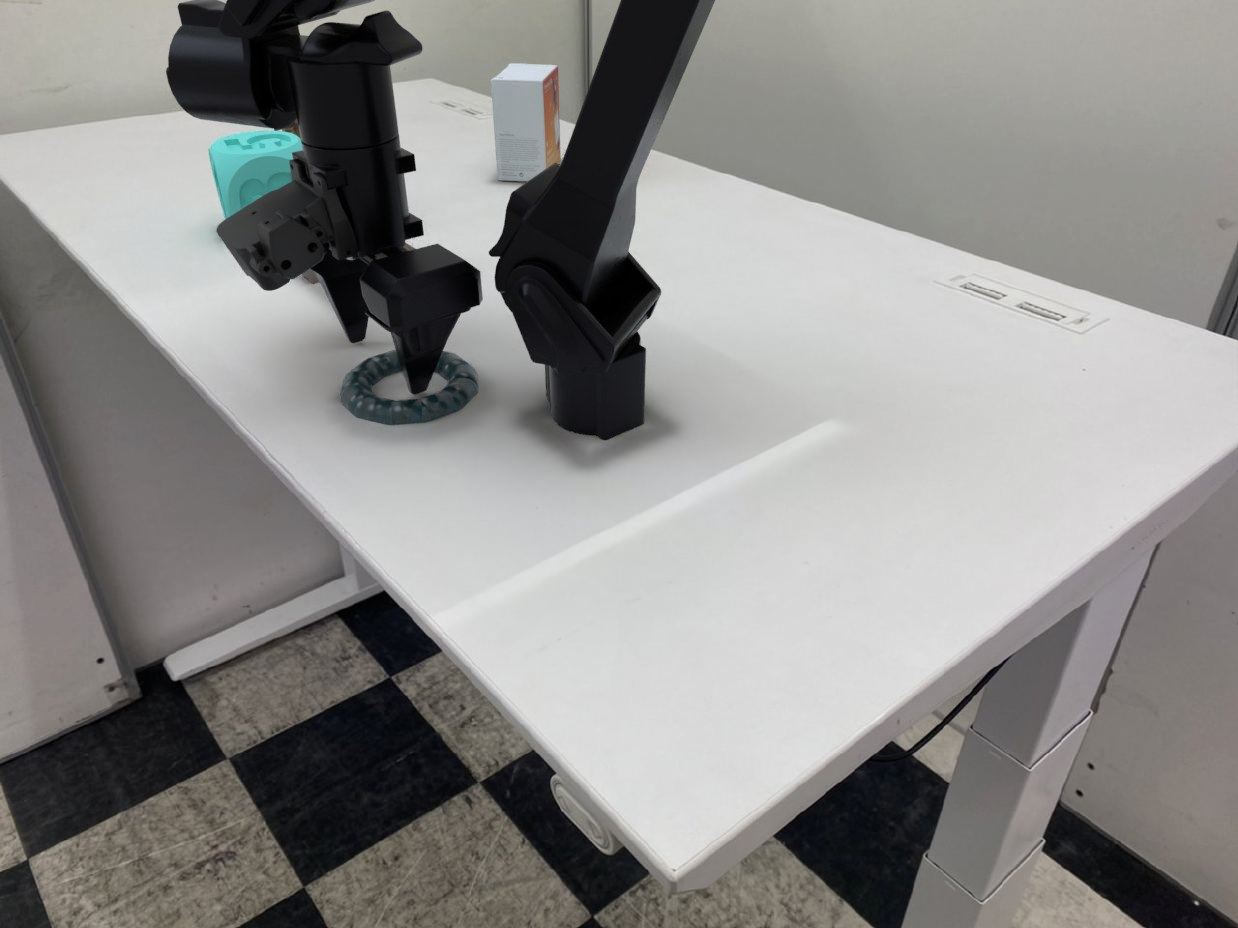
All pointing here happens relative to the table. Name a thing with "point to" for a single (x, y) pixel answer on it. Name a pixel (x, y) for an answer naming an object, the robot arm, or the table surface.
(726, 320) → the table surface
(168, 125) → the table surface
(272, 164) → the decorative dice
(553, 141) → the small box
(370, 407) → the ring
